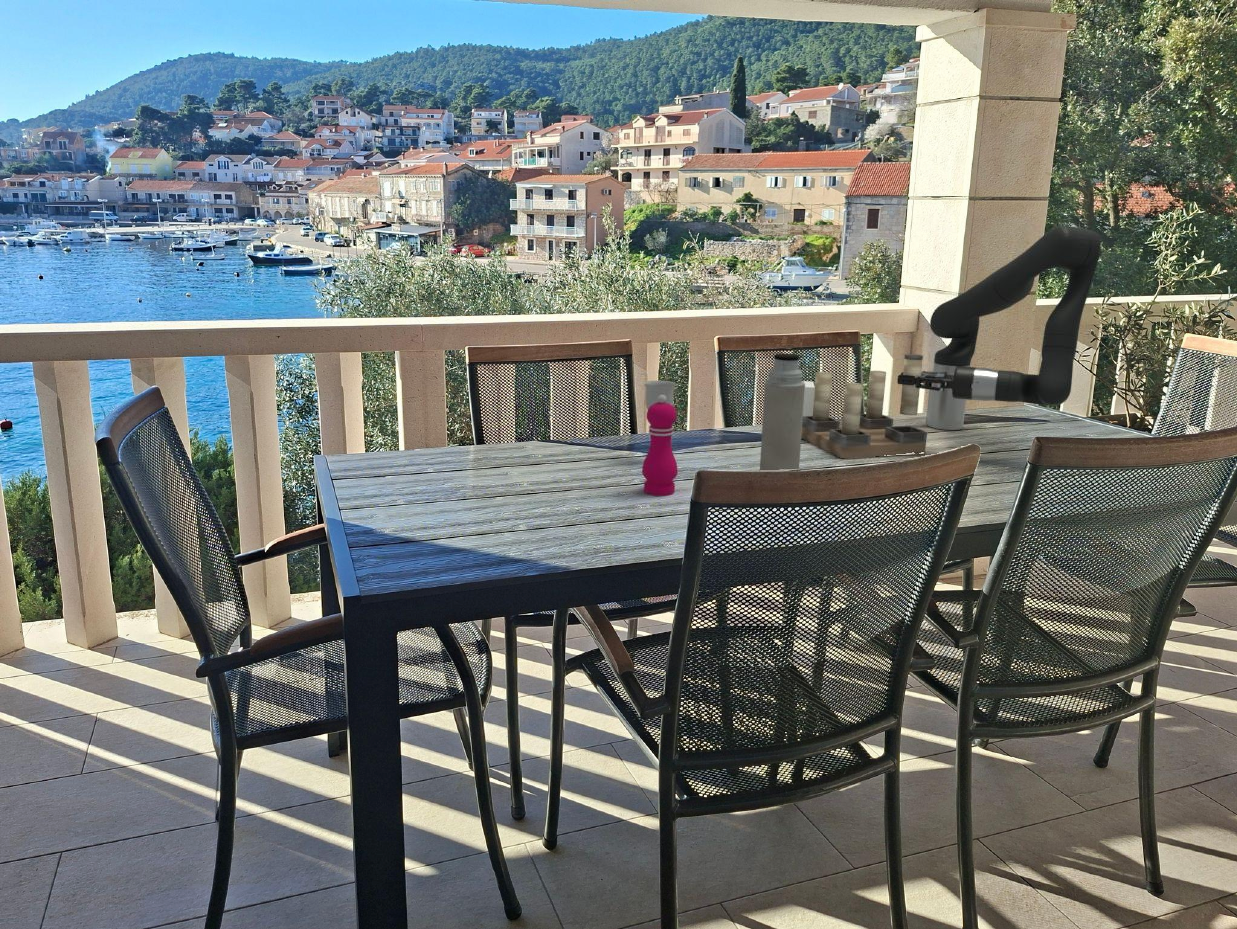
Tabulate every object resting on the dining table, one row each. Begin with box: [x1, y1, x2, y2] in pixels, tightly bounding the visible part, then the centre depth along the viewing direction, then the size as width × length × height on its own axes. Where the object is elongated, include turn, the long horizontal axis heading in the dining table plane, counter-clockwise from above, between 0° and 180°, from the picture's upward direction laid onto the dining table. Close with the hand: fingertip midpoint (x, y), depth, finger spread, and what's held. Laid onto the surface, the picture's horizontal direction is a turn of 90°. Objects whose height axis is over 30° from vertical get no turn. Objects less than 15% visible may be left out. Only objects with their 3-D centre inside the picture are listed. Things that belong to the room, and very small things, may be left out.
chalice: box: [643, 380, 677, 411], centre depth 214 cm, size 7×7×18 cm
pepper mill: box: [641, 395, 679, 497], centre depth 191 cm, size 7×7×20 cm
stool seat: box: [801, 370, 928, 459], centre depth 232 cm, size 22×22×17 cm
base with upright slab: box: [802, 380, 815, 416], centre depth 250 cm, size 9×9×12 cm
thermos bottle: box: [759, 353, 805, 471], centre depth 194 cm, size 8×8×28 cm
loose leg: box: [899, 353, 924, 416], centre depth 225 cm, size 4×4×14 cm
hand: (899, 377), depth 226 cm, fingers closed on loose leg, 4 cm apart
